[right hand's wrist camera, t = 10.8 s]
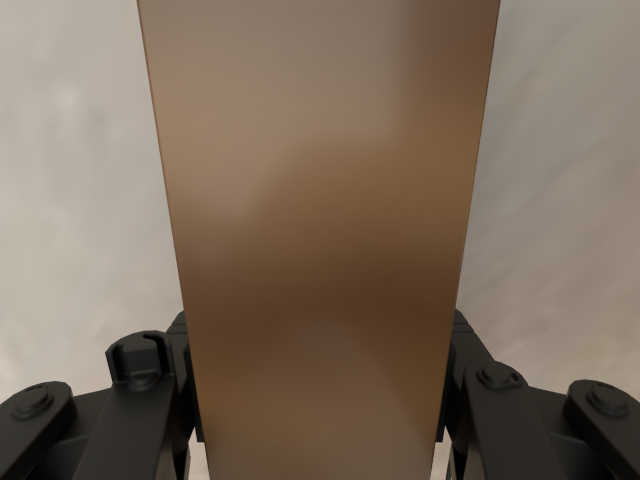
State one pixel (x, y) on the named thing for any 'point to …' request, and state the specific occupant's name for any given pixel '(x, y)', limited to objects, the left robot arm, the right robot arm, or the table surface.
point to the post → (319, 220)
